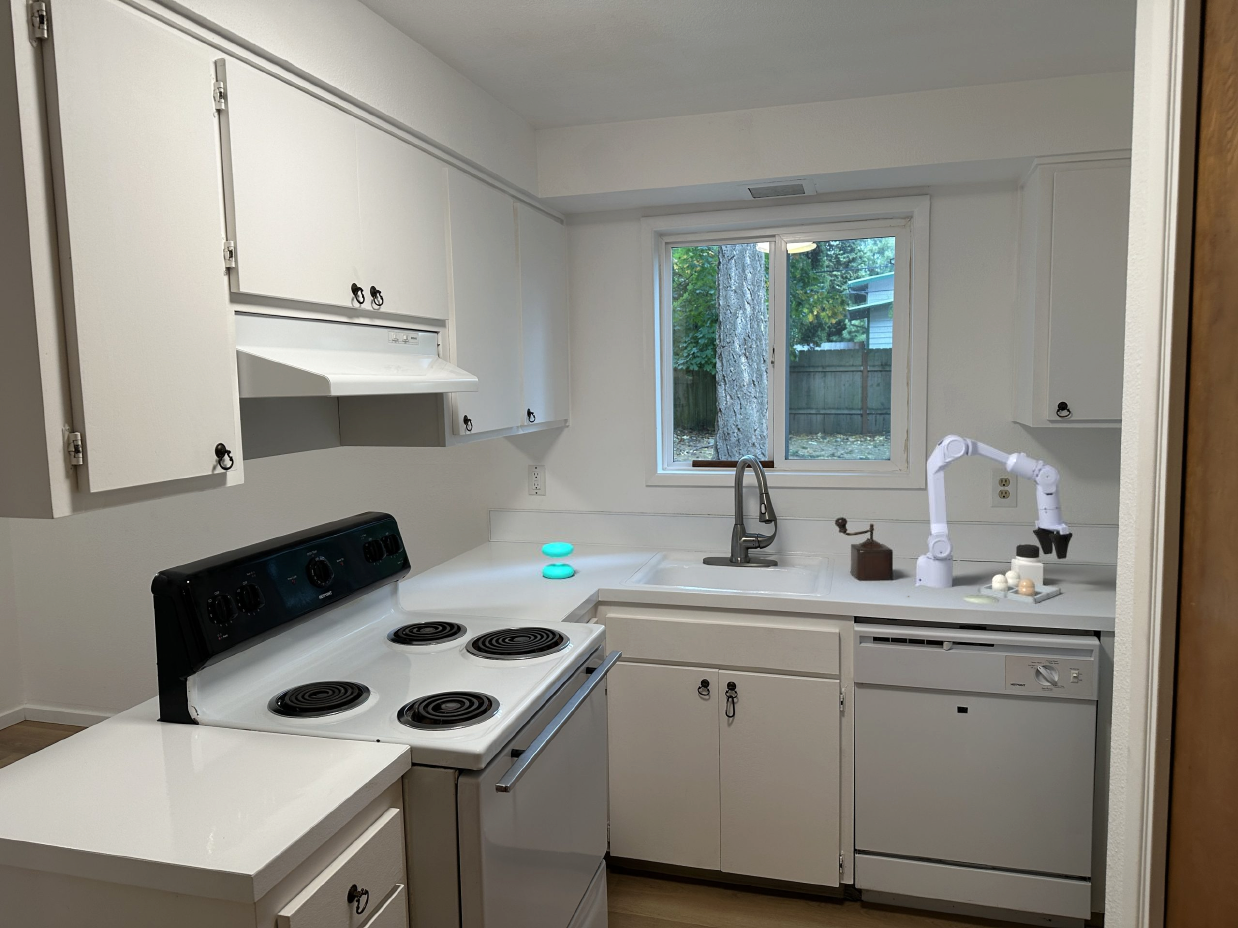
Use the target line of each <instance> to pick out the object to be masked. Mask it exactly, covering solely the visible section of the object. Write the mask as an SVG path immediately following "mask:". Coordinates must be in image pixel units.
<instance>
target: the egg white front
mask: <svg viewBox="0 0 1238 928" xmlns="http://www.w3.org/2000/svg"><path fill="white" fill-rule="evenodd" d="M991 584H992V590H997V591H1002V592H1008V580H1007V578H1006V577H1005V575H1004V574H1001V573H999V574H996V575H994V576H993V577H992V579H991Z"/></svg>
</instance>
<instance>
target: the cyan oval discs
mask: <svg viewBox="0 0 1238 928" xmlns="http://www.w3.org/2000/svg"><path fill="white" fill-rule="evenodd" d="M573 552H574V546H573V545H572V544H570V543H569V542H550V543H547V544H544V545H543V546H542V548H541V553H542V554H543V555H544V556H545V557H549V558H552V559H553V558H556V559H557V558H558V559H559V558H565V557H566V558H567V557H569V556H571V554H573ZM541 573H542V575H543V576H544V577H545V578H548V579H554V580H556V579H557V580H559V579H560V580H561V579H567V578H570V577H572V576H573V575H574V573H575V568H574V567H573V566H572V565H570V564H569V563H564V562H563V563H562V562H560V563H559V562H557V563H549V564H547V565H546V566H544V567H543V568H542V571H541Z"/></svg>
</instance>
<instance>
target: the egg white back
mask: <svg viewBox="0 0 1238 928" xmlns="http://www.w3.org/2000/svg"><path fill="white" fill-rule="evenodd" d="M1004 576H1005V577H1006V578H1007V580H1008V586H1012V587H1018V588H1019V582H1020V580H1021V577H1020V574H1019V573H1018V572H1017V571H1014V570H1007V572H1006V573H1005V575H1004Z"/></svg>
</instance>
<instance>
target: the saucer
mask: <svg viewBox="0 0 1238 928" xmlns="http://www.w3.org/2000/svg"><path fill="white" fill-rule="evenodd" d="M962 599H963V600H965V601H967V602H970V603H976V604H996V603H999V602H1000V599H998V597H996V596H991V595H986V594H968V595H964V596H963V597H962Z"/></svg>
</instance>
